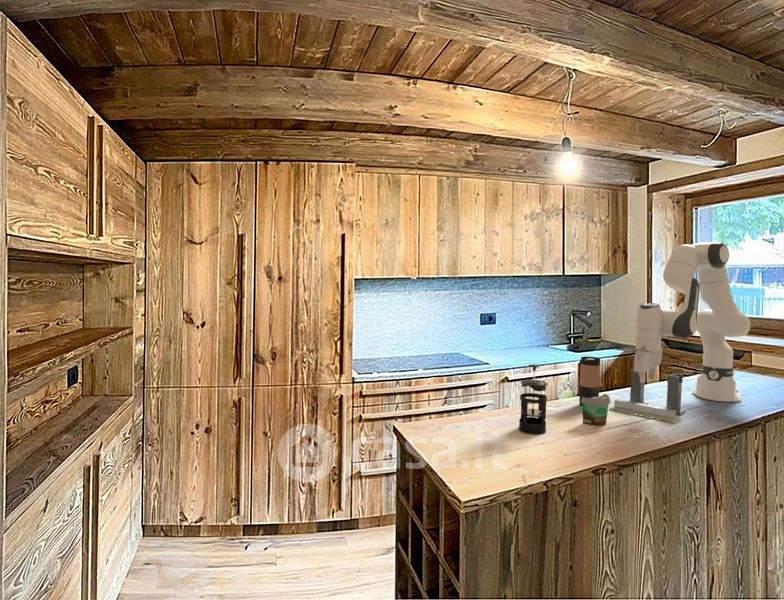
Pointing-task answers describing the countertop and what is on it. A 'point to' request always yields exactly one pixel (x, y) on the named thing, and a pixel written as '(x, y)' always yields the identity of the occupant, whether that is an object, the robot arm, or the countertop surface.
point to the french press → (532, 423)
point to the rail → (645, 408)
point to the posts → (672, 391)
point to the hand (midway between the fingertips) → (647, 380)
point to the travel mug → (589, 377)
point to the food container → (595, 410)
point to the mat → (645, 414)
